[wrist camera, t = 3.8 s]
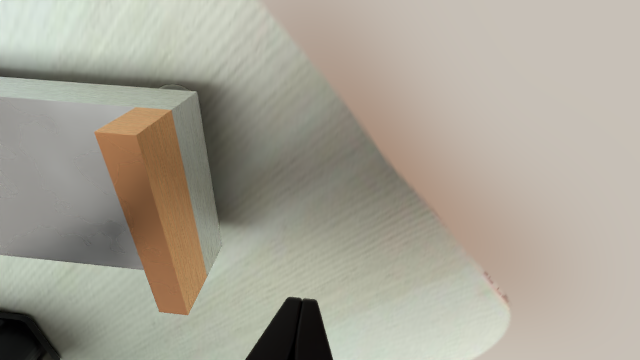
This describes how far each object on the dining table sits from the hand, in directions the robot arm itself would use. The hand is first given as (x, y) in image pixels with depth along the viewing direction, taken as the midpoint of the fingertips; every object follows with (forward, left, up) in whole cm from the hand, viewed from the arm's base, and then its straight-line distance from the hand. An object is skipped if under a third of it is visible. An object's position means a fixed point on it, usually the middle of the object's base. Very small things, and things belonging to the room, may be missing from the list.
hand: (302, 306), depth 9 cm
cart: (0, +10, -7) cm, 13 cm away
